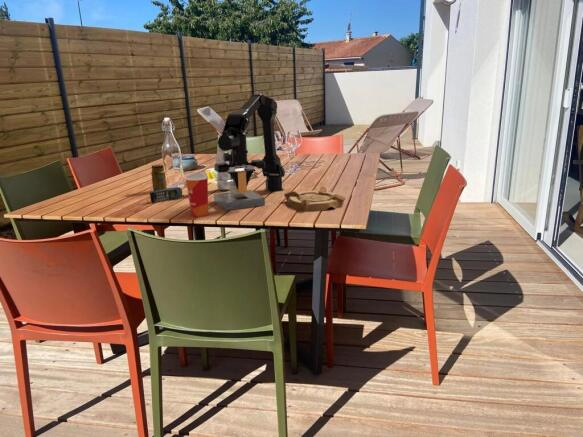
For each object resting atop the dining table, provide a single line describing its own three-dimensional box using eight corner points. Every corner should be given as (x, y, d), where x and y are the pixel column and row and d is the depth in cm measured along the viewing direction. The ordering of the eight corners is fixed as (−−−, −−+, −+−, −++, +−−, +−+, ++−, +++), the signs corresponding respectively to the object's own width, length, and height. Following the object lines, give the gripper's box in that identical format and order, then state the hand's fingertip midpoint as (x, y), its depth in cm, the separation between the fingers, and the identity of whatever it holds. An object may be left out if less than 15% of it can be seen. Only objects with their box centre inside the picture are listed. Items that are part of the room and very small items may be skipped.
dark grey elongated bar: (151, 192, 176) (185, 186, 185) (148, 191, 178) (182, 184, 187) (152, 204, 177) (186, 197, 186) (149, 203, 180) (183, 196, 189)
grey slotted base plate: (251, 196, 185) (250, 178, 183) (265, 205, 171) (264, 185, 169) (214, 201, 178) (212, 182, 176) (225, 210, 164) (224, 189, 162)
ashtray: (285, 197, 184) (284, 186, 182) (341, 196, 183) (342, 185, 181) (282, 212, 161) (282, 199, 160) (347, 211, 160) (347, 198, 159)
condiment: (167, 189, 204) (164, 163, 201) (169, 192, 196) (166, 166, 193) (151, 190, 202) (148, 164, 198) (152, 194, 194) (149, 167, 191)
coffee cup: (190, 212, 163) (186, 172, 159) (212, 211, 164) (209, 171, 160) (186, 218, 155) (182, 176, 151) (210, 217, 156) (206, 175, 152)
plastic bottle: (229, 191, 195) (226, 146, 190) (215, 191, 197) (211, 146, 191) (234, 188, 201) (231, 145, 196) (220, 188, 203) (217, 145, 197)
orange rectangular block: (246, 192, 169) (245, 171, 167) (239, 193, 168) (237, 172, 165) (244, 190, 172) (243, 170, 169) (236, 191, 170) (235, 171, 168)
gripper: (254, 143, 176) (256, 181, 180) (209, 147, 168) (212, 186, 173) (265, 146, 166) (266, 186, 170) (217, 150, 158) (220, 192, 163)
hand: (241, 187), depth 169 cm, fingers closed on orange rectangular block, 3 cm apart
